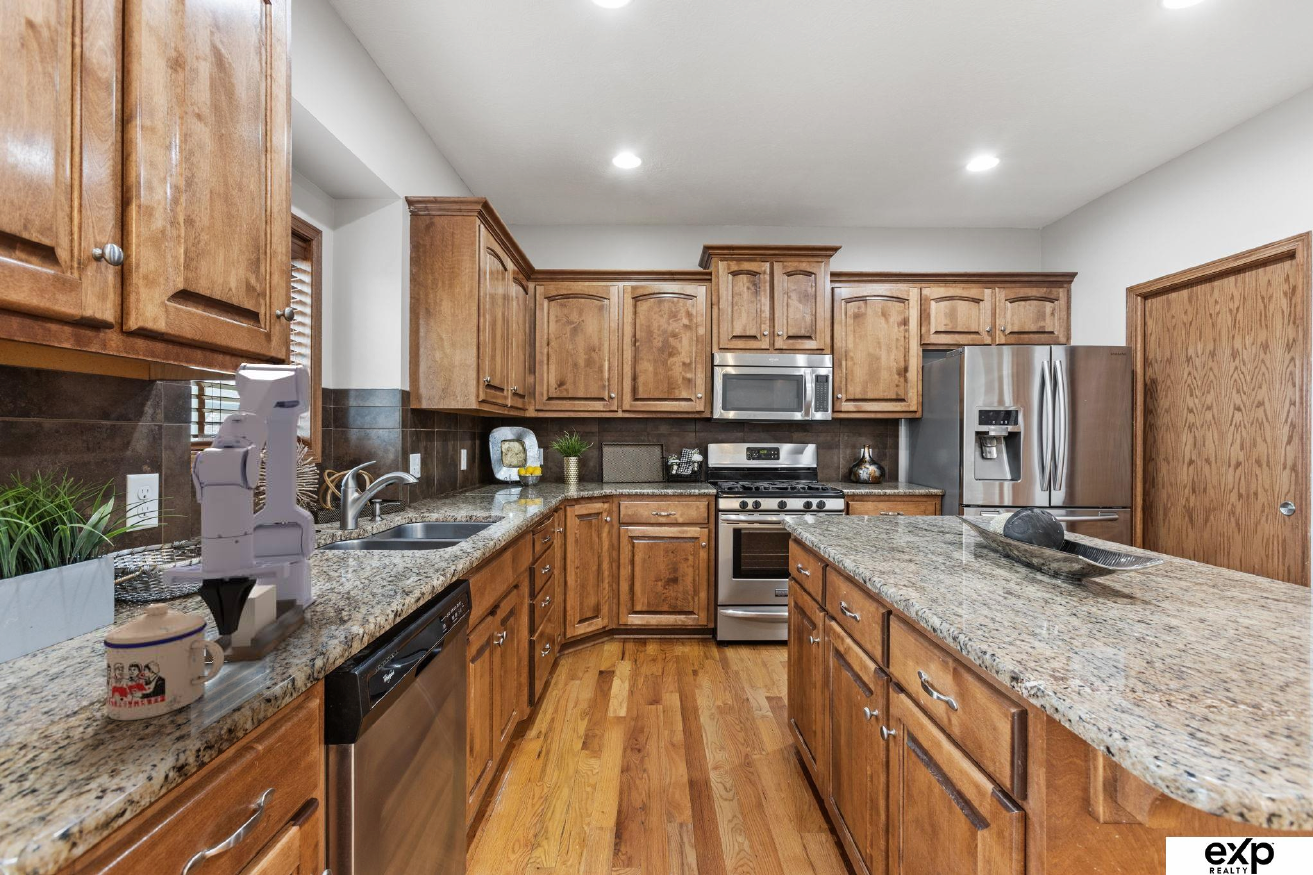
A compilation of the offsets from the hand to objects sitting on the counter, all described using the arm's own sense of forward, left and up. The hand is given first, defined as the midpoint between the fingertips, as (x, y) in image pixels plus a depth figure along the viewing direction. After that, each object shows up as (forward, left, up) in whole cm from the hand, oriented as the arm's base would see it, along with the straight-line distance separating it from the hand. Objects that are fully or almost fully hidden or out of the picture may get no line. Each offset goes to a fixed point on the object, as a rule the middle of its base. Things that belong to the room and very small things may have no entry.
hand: (228, 632), depth 77 cm
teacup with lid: (+11, -1, -5) cm, 12 cm away
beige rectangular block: (-8, 0, -3) cm, 8 cm away
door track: (-9, 0, -4) cm, 10 cm away
